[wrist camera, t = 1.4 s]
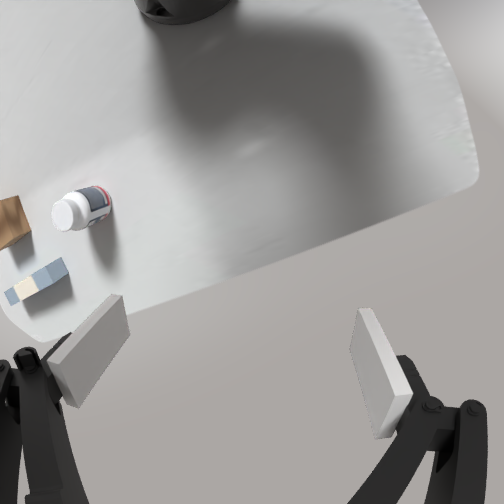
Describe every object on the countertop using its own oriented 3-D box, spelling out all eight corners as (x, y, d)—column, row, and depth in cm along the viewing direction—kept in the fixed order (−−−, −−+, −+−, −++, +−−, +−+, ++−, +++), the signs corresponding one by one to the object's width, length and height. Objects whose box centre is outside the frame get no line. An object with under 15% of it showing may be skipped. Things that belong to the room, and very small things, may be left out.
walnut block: (1, 211, 42) (-16, 217, 37) (18, 195, 41) (-1, 200, 36) (14, 243, 44) (-4, 252, 39) (31, 230, 43) (13, 237, 38)
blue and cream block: (17, 283, 46) (3, 292, 42) (61, 257, 43) (44, 266, 39) (24, 296, 47) (10, 306, 43) (68, 272, 44) (52, 283, 40)
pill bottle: (87, 181, 39) (50, 189, 31) (115, 191, 39) (80, 201, 31) (81, 214, 41) (45, 228, 32) (108, 225, 41) (74, 242, 33)
